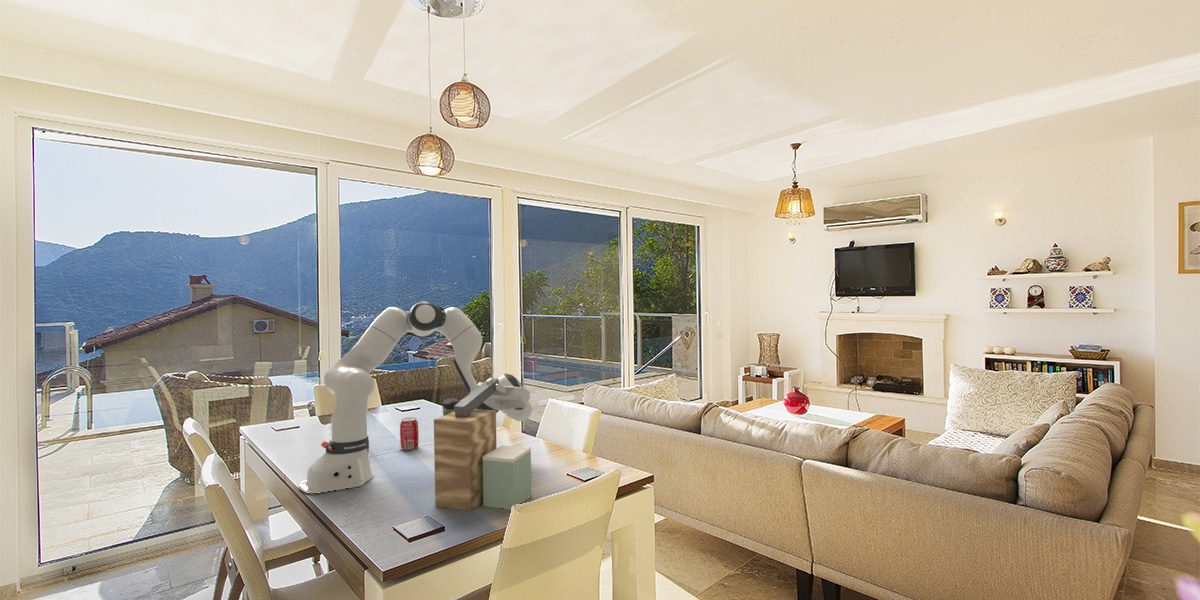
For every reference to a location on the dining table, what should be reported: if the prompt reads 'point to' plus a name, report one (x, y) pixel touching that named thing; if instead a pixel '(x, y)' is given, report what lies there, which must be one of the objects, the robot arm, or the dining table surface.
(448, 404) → the coffee jar
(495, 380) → the grey bar with knob
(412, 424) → the soda can
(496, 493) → the block
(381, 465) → the dining table surface
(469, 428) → the oak stand
